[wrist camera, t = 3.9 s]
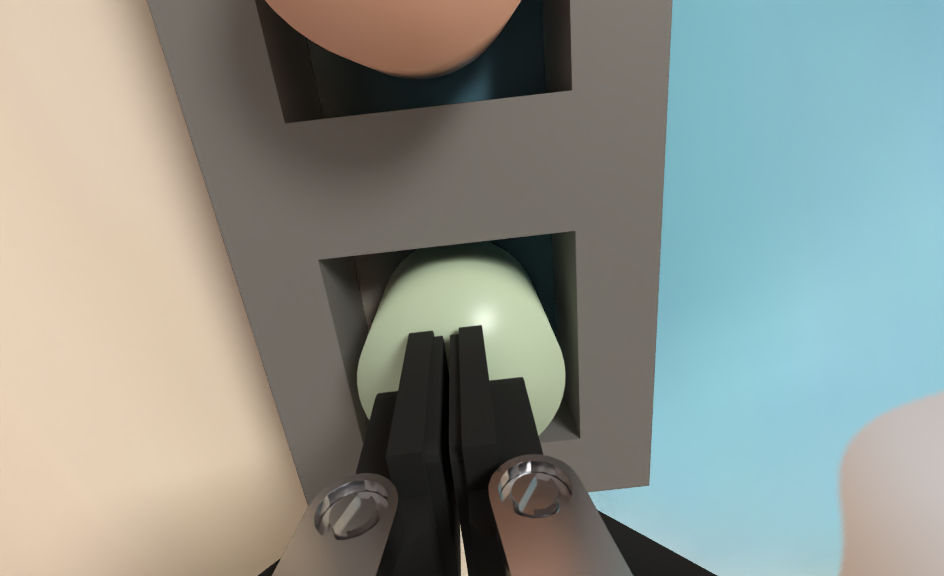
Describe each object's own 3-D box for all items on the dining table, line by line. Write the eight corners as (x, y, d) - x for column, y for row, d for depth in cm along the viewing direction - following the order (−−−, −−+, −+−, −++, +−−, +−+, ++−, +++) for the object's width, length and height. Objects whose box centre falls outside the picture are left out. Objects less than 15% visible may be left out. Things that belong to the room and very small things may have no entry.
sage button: (532, 228, 13) (561, 276, 10) (541, 369, 15) (568, 455, 12) (369, 246, 14) (337, 301, 10) (396, 385, 15) (377, 475, 12)
